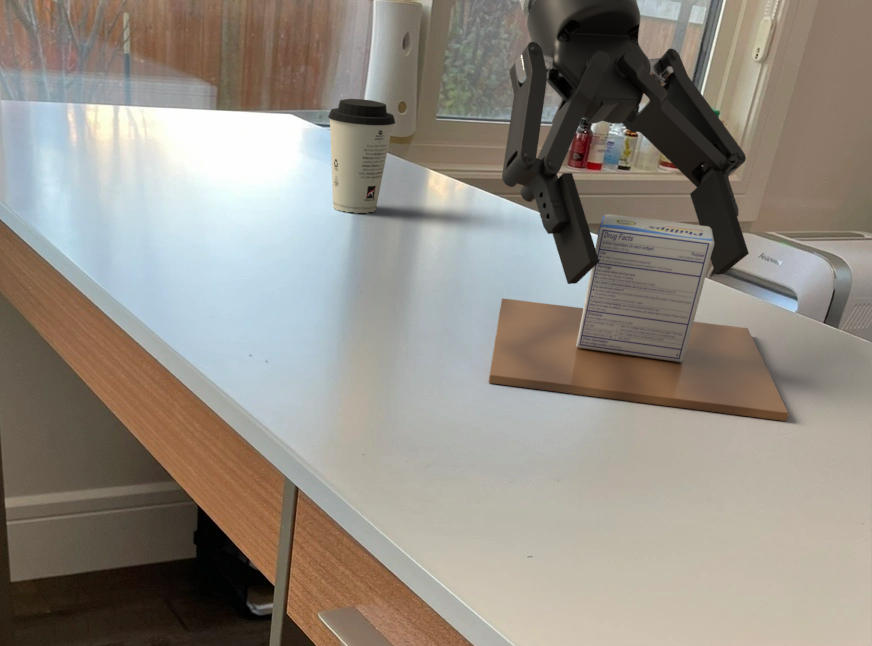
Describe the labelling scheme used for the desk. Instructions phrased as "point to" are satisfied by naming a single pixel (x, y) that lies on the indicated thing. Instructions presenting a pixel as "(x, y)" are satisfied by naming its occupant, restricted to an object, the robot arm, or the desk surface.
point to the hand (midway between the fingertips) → (660, 269)
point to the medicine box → (645, 287)
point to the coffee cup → (358, 153)
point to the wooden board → (632, 365)
